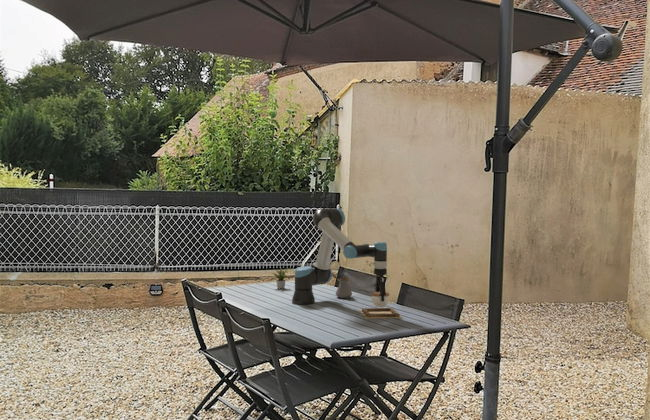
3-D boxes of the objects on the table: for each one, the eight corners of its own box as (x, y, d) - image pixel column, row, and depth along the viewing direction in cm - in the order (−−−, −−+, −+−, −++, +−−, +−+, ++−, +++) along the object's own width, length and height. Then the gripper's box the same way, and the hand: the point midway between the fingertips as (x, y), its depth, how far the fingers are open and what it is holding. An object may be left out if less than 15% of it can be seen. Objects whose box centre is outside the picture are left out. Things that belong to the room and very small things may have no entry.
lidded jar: (384, 303, 354) (384, 288, 354) (392, 307, 344) (392, 291, 344) (368, 305, 350) (368, 289, 350) (376, 308, 340) (376, 292, 340)
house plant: (284, 286, 448) (284, 265, 448) (294, 288, 438) (294, 266, 437) (268, 288, 439) (268, 266, 439) (279, 290, 429) (279, 268, 428)
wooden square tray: (359, 310, 357) (359, 307, 357) (393, 310, 360) (393, 307, 360) (365, 318, 335) (365, 315, 335) (402, 317, 338) (402, 314, 338)
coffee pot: (355, 298, 399) (355, 276, 399) (341, 299, 393) (341, 277, 393) (337, 293, 417) (338, 272, 417) (324, 295, 411) (324, 273, 410)
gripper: (370, 265, 358) (370, 300, 358) (378, 270, 335) (378, 308, 335) (382, 265, 358) (382, 300, 359) (391, 270, 335) (390, 308, 336)
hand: (380, 304), depth 347 cm, fingers closed on lidded jar, 11 cm apart
